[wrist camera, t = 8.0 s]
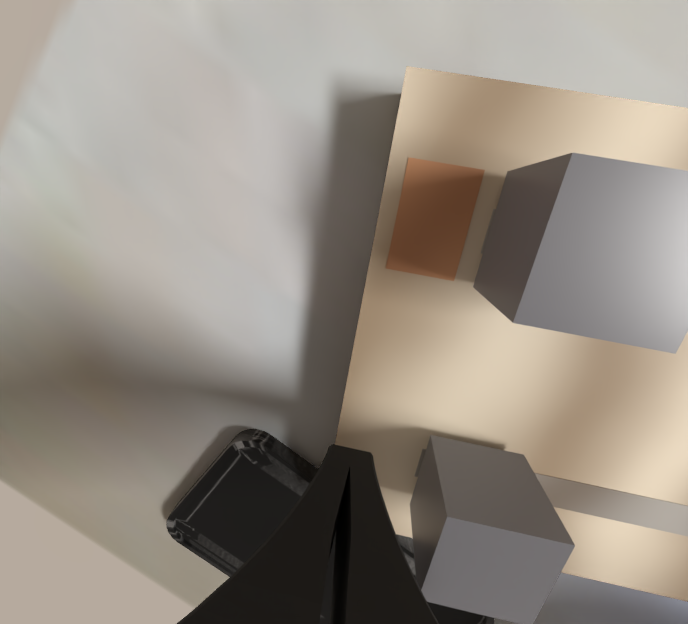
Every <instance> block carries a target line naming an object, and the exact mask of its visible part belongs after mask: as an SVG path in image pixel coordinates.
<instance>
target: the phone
mask: <svg viewBox="0 0 688 624" xmlns="http://www.w3.org/2000/svg"><path fill="white" fill-rule="evenodd" d="M317 471H318V469H317V468H315V467H314V466H313V465H311V464H310V463H308V462H307V461H306V460H304V459H303V458H302V457H300V456H299V455H298V454H296V453H295V452H293V451H292V450H291V449H289V448H288V447H287V446H285V445H284V444H283V443H281V442H280V441H279V440H277V439H276V438H274V437H273V436H272V435H270V434H268V433H266V432H265V431H261V430H257V429H249V430H246V431H243V432H241V433H239V434H238V435H237V436H236V437H235V438H234V439H233V440H232V441H231V443H230V444H229V445H228V446H227V447H226V448H225V450H224V451H223V452H222V453H221V454H220V455H219V457H218V458H217V459H216V460H215V461H214V462H213V463H212V465H211V466H210V467H209V468H208V469H207V470H206V472H205V473H204V474H203V475H202V476H201V477H200V478H199V480H198V481H197V482H196V483H195V484H194V485H193V487H192V488H191V489H190V490H189V491H188V492H187V494H186V495H185V496H184V497H183V498H182V499H181V500H180V502H179V503H178V504H177V506H176V507H175V509H174V510H173V511H172V513H171V514H170V516H169V517H168V519H167V529H168V532H169V534H170V535H171V536H172V538H173V539H175V540H176V541H177V542H178V543H180V544H181V545H183V546H184V547H186V548H187V549H189V550H190V551H192V552H193V553H195V554H196V555H198V556H199V557H201V558H202V559H204V560H205V561H207V562H208V563H210V564H211V565H213V566H214V567H216V568H217V569H219V570H220V571H222V572H223V573H225V574H226V575H228V576H229V577H231V576H232V575H233V574H234V573H235V572H236V571H237V570H238V569H239V568H240V567H241V566H242V565H243V564H244V563H245V562H246V561H247V560H248V559H249V558H250V557H251V556H252V555H253V553H254V552H255V551H256V550H257V549H258V548H259V547H260V546H261V545H262V544H263V543H264V542H265V541H266V539H267V538H268V537H269V536H270V535H271V534H272V533H273V532H274V530H275V529H276V528H277V527H278V526H279V524H280V523H281V522H282V521H283V520H284V518H285V517H286V516H287V515H288V513H289V512H290V511H291V509H292V508H293V507H294V505H295V504H296V503H297V501H298V500H299V499H300V497H301V496H302V494H303V493H304V492H305V490H306V488H307V487H308V485H309V484H310V482H311V481H312V479H313V478H314V476H315V475H316V473H317ZM396 536H397V538H398V541H399V543H400V546H401V548H402V550H403V553H404V555H405V557H406V560H407V562H408V564H409V566H410V568H411V570H412V573H413V575H414V577H415V579H416V571H415V559H414V548H413V539H412V538H410V537H406V536H402V535H397V534H396ZM335 539H336V533H335V537H334V542H333V546H332V550H331V554H330V558H329V562H328V567H327V574H326V580H325V587H324V594H323V601H322V608H321V615H320V622H319V624H329V622H330V610H331V596H332V582H333V567H334V553H335ZM427 603H428V605H429V607H430V609H431V611H432V612H433V614H434V616H435V618H436V619H437V621H438V623H439V624H494V618H492V617H488V616H484V615H480V614H476V613H472V612H468V611H464V610H459V609H455V608H451V607H447V606H443V605H439V604H435V603H430V602H427Z"/></svg>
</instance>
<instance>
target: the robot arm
mask: <svg viewBox="0 0 688 624" xmlns="http://www.w3.org/2000/svg"><path fill="white" fill-rule="evenodd" d="M335 533H336V539H335V553H334V567H333V582H332V596H331V610H330V622H329V624H439V623H438V621H437V619H436V618H435V616H434V614H433V612H432V611H431V609H430V607H429V605H428V603H427V601H426V599H425V597H424V595H423V593H422V591H421V589H420V587H419V585H418V583H417V581H416V579H415V577H414V575H413V573H412V570H411V568H410V566H409V564H408V562H407V560H406V557H405V555H404V553H403V550H402V548H401V546H400V543H399V541H398V538H397V536H396V533H395V531H394V528H393V525H392V522H391V520H390V517H389V514H388V511H387V508H386V505H385V502H384V499H383V496H382V493H381V489H380V486H379V482H378V478H377V474H376V470H375V465H374V459H373V455H372V454H371V452H367V451H362V450H358V449H353V448H349V447H344V446H339V445H335V444H333V445H331V446H329V449H328V452H327V454H326V456H325V458H324V460H323V462H322V464H321V466H320V468H319V469H318V471H317V473H316V475H315V476H314V478H313V479H312V481H311V482H310V484H309V485H308V487H307V488H306V490H305V492H304V493H303V494H302V496H301V497H300V499H299V500H298V501H297V503H296V504H295V505H294V507H293V508H292V509H291V511H290V512H289V513H288V515H287V516H286V517H285V518H284V520H283V521H282V522H281V523H280V524H279V526H278V527H277V528H276V529H275V530H274V532H273V533H272V534H271V535H270V536H269V537H268V538H267V539H266V541H265V542H264V543H263V544H262V545H261V546H260V547H259V548H258V549H257V550H256V551H255V552H254V553H253V555H252V556H251V557H250V558H249V559H248V560H247V561H246V562H245V563H244V564H243V565H242V566H241V567H240V568H239V569H238V570H237V571H236V572H235V573H234V574H233V575H232V576H231V577H230V578H229V579H227V580H226V581H225V582H224V583H223V584H222V585H221V586H220V587H219V588H217V589H216V590H215V591H214V592H213V593H212V594H211V595H210V596H209V597H208V598H206V599H205V600H204V601H203V602H202V603H201V604H200V605H199V606H198V607H196V608H195V609H194V610H193V611H192V612H191V613H189V614H188V615H187V616H186V617H185V618H183V619H182V620H181V621H180V622H178V623H177V624H319V622H320V615H321V608H322V601H323V594H324V587H325V580H326V574H327V567H328V562H329V558H330V554H331V550H332V546H333V542H334V537H335Z"/></svg>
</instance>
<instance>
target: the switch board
mask: <svg viewBox="0 0 688 624" xmlns="http://www.w3.org/2000/svg"><path fill="white" fill-rule="evenodd" d="M569 153H579V154H585V155H591V156H598V157H604V158H610V159H617V160H623V161H629V162H635V163H642V164H648V165H654V166H661V167H667V168H673V169H679V170H686V171H688V108H684V107H678V106H671V105H664V104H657V103H651V102H644V101H637V100H630V99H624V98H617V97H610V96H604V95H597V94H590V93H583V92H577V91H570V90H563V89H557V88H550V87H543V86H536V85H530V84H523V83H516V82H509V81H503V80H496V79H489V78H483V77H476V76H469V75H462V74H456V73H449V72H442V71H435V70H429V69H422V68H415V67H409V66H407V67H406V72H405V78H404V83H403V88H402V93H401V99H400V104H399V109H398V115H397V120H396V125H395V130H394V136H393V141H392V146H391V151H390V157H389V162H388V167H387V172H386V178H385V183H384V188H383V193H382V199H381V204H380V209H379V214H378V220H377V225H376V230H375V235H374V241H373V246H372V251H371V256H370V262H369V267H368V272H367V277H366V283H365V288H364V293H363V298H362V304H361V309H360V314H359V319H358V325H357V330H356V335H355V340H354V346H353V351H352V356H351V361H350V367H349V372H348V377H347V382H346V388H345V393H344V398H343V404H342V409H341V414H340V419H339V425H338V430H337V435H336V440H335V445H339V446H344V447H349V448H353V449H358V450H362V451H367V452H371V454H372V455H373V459H374V465H375V470H376V474H377V478H378V482H379V486H380V489H381V493H382V496H383V499H384V502H385V505H386V508H387V511H388V514H389V517H390V520H391V522H392V525H393V528H394V531H395V533H396V534H397V535H402V536H406V537H410V538H413V536H412V525H411V514H410V501H411V498H412V495H413V491H414V488H415V485H416V481H417V478H418V475H419V471H420V468H421V465H422V461H423V458H424V455H425V451H426V448H427V445H428V441H429V438H430V435H434V436H438V437H443V438H448V439H452V440H457V441H462V442H467V443H471V444H476V445H481V446H485V447H490V448H495V449H500V450H504V451H509V452H514V453H518V454H523V455H524V456H525V458H526V459H527V461H528V463H529V465H530V466H531V468H532V470H533V472H534V473H535V475H536V477H537V479H538V481H539V482H540V484H541V486H542V488H543V489H544V491H545V493H546V495H547V496H548V498H549V500H550V502H551V503H552V505H553V507H554V509H555V511H556V512H557V514H558V516H559V518H560V519H561V521H562V523H563V525H564V526H565V528H566V530H567V532H568V534H569V535H570V537H571V539H572V541H573V542H574V544H575V547H574V549H573V551H572V553H571V555H570V556H569V558H568V560H567V562H566V564H565V566H564V568H563V569H562V571H561V572H562V573H566V574H571V575H575V576H579V577H584V578H588V579H592V580H597V581H601V582H605V583H610V584H614V585H618V586H623V587H627V588H631V589H636V590H640V591H644V592H649V593H653V594H657V595H661V596H666V597H670V598H674V599H679V600H683V601H687V602H688V332H687V333H686V335H685V337H684V339H683V341H682V343H681V345H680V347H679V348H678V350H677V352H676V354H674V353H668V352H663V351H658V350H653V349H647V348H642V347H637V346H632V345H626V344H621V343H616V342H611V341H605V340H600V339H595V338H589V337H584V336H579V335H574V334H568V333H563V332H558V331H553V330H547V329H542V328H537V327H532V326H526V325H521V324H516V323H512V322H511V321H510V320H509V319H508V318H507V317H506V316H505V315H503V314H502V313H501V312H500V311H499V310H498V309H497V308H496V307H495V306H493V305H492V304H491V303H490V302H489V301H488V300H487V299H486V298H485V297H483V296H482V295H481V294H480V293H479V292H478V291H477V290H476V289H475V288H473V285H474V282H475V278H476V275H477V272H478V268H479V265H480V261H481V258H482V255H483V251H484V248H485V245H486V241H487V238H488V235H489V231H490V228H491V225H492V221H493V218H494V215H495V211H496V208H497V204H498V201H499V198H500V194H501V191H502V188H503V184H504V181H505V178H506V174H507V171H510V170H514V169H517V168H521V167H524V166H528V165H531V164H535V163H538V162H541V161H545V160H548V159H552V158H555V157H559V156H562V155H566V154H569Z"/></svg>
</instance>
